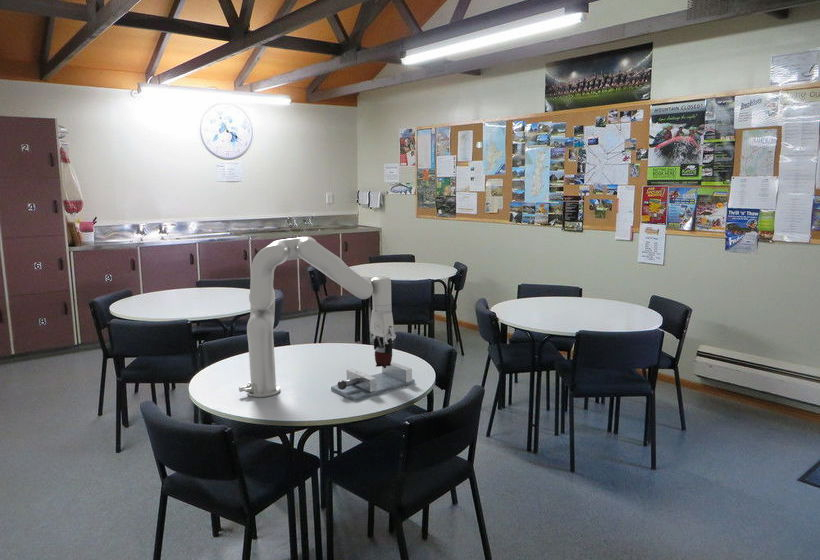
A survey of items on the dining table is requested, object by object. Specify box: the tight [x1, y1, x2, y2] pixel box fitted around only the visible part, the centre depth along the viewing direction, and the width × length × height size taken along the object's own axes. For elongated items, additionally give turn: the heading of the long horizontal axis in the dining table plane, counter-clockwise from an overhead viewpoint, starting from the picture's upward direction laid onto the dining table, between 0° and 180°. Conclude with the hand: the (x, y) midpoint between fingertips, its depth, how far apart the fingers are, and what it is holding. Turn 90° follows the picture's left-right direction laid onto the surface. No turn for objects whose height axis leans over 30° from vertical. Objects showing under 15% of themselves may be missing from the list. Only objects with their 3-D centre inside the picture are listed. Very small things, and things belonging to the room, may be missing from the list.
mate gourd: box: [374, 336, 393, 368], centre depth 233 cm, size 8×8×15 cm
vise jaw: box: [336, 368, 376, 392], centre depth 225 cm, size 12×16×5 cm
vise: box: [330, 360, 416, 402], centre depth 232 cm, size 30×16×6 cm, turn 130°
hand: (383, 350), depth 233 cm, fingers closed on mate gourd, 6 cm apart
